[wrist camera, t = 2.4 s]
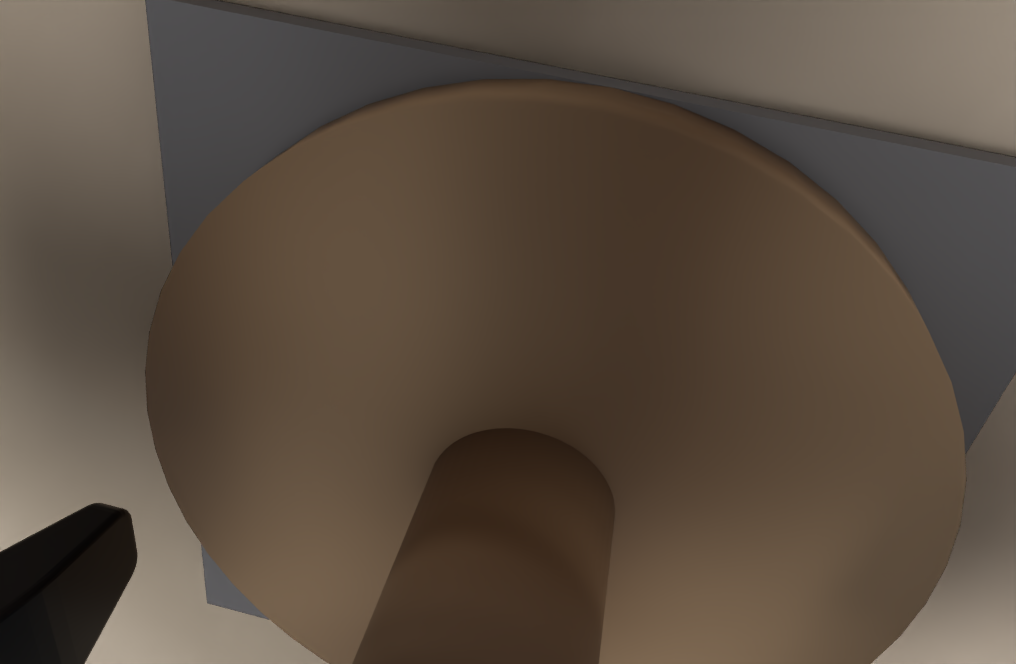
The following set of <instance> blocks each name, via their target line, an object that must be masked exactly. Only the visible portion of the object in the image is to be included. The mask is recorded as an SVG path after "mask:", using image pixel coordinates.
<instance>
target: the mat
mask: <svg viewBox="0 0 1016 664" xmlns="http://www.w3.org/2000/svg"><path fill="white" fill-rule="evenodd" d="M145 2H146V12H147V21H148V31H149V41H150V51H151V60H152V70H153V80H154V89H155V99H156V109H157V119H158V128H159V138H160V148H161V158H162V167H163V177H164V187H165V197H166V206H167V216H168V226H169V235H170V245H171V255H172V265H173V266H174V264H175V262H176V260H177V257H178V255H179V253H180V252H181V250H182V249H183V248H184V246H185V245H186V244H187V242H188V241H189V240H190V238H191V237H192V236H193V234H194V233H195V231H196V230H197V229H198V227H199V226H200V225H201V223H202V222H203V221H204V219H205V218H206V216H207V215H208V214H209V213H210V212H211V211H213V210H214V209H215V208H216V207H217V206H218V205H219V204H220V203H221V202H222V201H223V200H224V199H225V198H226V197H227V196H228V195H229V194H230V193H231V192H232V191H234V190H235V189H236V188H237V187H238V186H239V185H240V184H241V183H242V182H243V181H244V180H246V179H247V178H248V177H250V176H251V175H252V174H254V173H255V172H256V171H258V170H259V169H260V168H262V167H263V166H264V165H266V164H267V163H268V162H270V161H271V160H272V159H274V158H275V157H276V156H278V155H279V154H281V153H282V152H284V151H285V150H286V149H288V148H289V147H291V146H292V145H294V144H295V143H297V142H298V141H300V140H301V139H303V138H304V137H306V136H307V135H309V134H310V133H312V132H313V131H315V130H316V129H318V128H319V127H321V126H323V125H325V124H327V123H329V122H331V121H333V120H336V119H338V118H340V117H342V116H344V115H346V114H348V113H351V112H353V111H355V110H357V109H359V108H361V107H363V106H366V105H368V104H370V103H374V102H377V101H380V100H384V99H387V98H391V97H394V96H398V95H401V94H404V93H408V92H411V91H415V90H418V89H421V88H425V87H432V86H439V85H446V84H453V83H460V82H467V81H474V80H481V79H552V80H560V81H567V82H575V83H582V84H590V85H598V86H605V87H612V88H616V89H619V90H623V91H627V92H630V93H634V94H638V95H642V96H645V97H649V98H653V99H656V100H660V101H664V102H668V103H671V104H675V105H677V106H680V107H682V108H684V109H687V110H689V111H691V112H694V113H696V114H699V115H701V116H703V117H706V118H708V119H710V120H713V121H715V122H718V123H720V124H722V125H725V126H727V127H730V128H732V129H734V130H736V131H738V132H739V133H741V134H743V135H745V136H746V137H748V138H750V139H751V140H753V141H755V142H756V143H758V144H760V145H761V146H763V147H765V148H766V149H768V150H770V151H772V152H773V153H775V154H777V155H778V156H780V157H782V158H783V159H785V160H787V161H788V162H790V163H791V164H792V165H794V166H795V167H796V168H797V169H799V170H800V171H801V172H802V173H804V174H805V175H806V176H807V177H809V178H810V179H811V180H812V181H814V182H815V183H816V184H817V185H819V186H820V187H821V188H822V189H824V190H825V191H826V192H827V193H829V194H830V195H831V196H832V197H834V198H835V199H836V200H837V201H838V202H839V203H840V204H841V205H842V206H843V207H844V208H845V209H846V210H847V211H848V213H849V214H850V215H851V216H852V217H853V218H854V219H855V220H856V221H857V222H858V223H859V224H860V226H861V227H862V228H863V229H864V230H865V231H866V232H867V233H868V234H869V235H870V236H871V237H872V239H873V240H874V241H875V242H876V243H877V244H878V246H879V247H880V249H881V250H882V252H883V253H884V255H885V256H886V258H887V259H888V261H889V262H890V264H891V265H892V267H893V268H894V270H895V271H896V273H897V274H898V276H899V277H900V279H901V280H902V282H903V283H904V285H905V286H906V288H907V289H908V291H909V293H910V295H911V297H912V299H913V301H914V303H915V305H916V307H917V309H918V311H919V313H920V315H921V317H922V319H923V321H924V323H925V325H926V327H927V329H928V331H929V333H930V335H931V337H932V340H933V342H934V344H935V346H936V349H937V351H938V353H939V355H940V358H941V360H942V362H943V364H944V366H945V369H946V371H947V373H948V375H949V378H950V380H951V382H952V386H953V390H954V394H955V398H956V402H957V406H958V410H959V414H960V418H961V422H962V427H963V431H964V443H965V454H966V453H967V451H968V449H969V448H970V446H971V445H972V443H973V441H974V440H975V438H976V436H977V435H978V433H979V432H980V430H981V428H982V427H983V425H984V423H985V422H986V420H987V418H988V417H989V415H990V414H991V412H992V410H993V409H994V407H995V405H996V404H997V402H998V400H999V399H1000V397H1001V396H1002V394H1003V392H1004V391H1005V389H1006V387H1007V386H1008V384H1009V383H1010V381H1011V379H1012V378H1013V376H1014V374H1015V373H1016V157H1012V156H1006V155H1001V154H996V153H991V152H986V151H981V150H976V149H971V148H966V147H961V146H956V145H950V144H945V143H940V142H935V141H930V140H925V139H920V138H915V137H910V136H905V135H900V134H894V133H889V132H884V131H879V130H874V129H869V128H864V127H859V126H854V125H849V124H844V123H838V122H833V121H828V120H823V119H818V118H813V117H808V116H803V115H798V114H793V113H788V112H783V111H777V110H772V109H767V108H762V107H757V106H752V105H747V104H742V103H737V102H732V101H727V100H721V99H716V98H711V97H706V96H701V95H696V94H691V93H686V92H681V91H676V90H671V89H665V88H660V87H655V86H650V85H645V84H640V83H635V82H630V81H625V80H620V79H615V78H609V77H604V76H599V75H594V74H589V73H584V72H579V71H574V70H569V69H564V68H559V67H553V66H548V65H543V64H538V63H533V62H528V61H523V60H518V59H513V58H508V57H503V56H497V55H492V54H487V53H482V52H477V51H472V50H467V49H462V48H457V47H452V46H447V45H442V44H436V43H431V42H426V41H421V40H416V39H411V38H406V37H401V36H396V35H391V34H386V33H380V32H375V31H370V30H365V29H360V28H355V27H350V26H345V25H340V24H335V23H330V22H324V21H319V20H314V19H309V18H304V17H299V16H294V15H289V14H284V13H279V12H274V11H268V10H263V9H258V8H253V7H248V6H243V5H238V4H233V3H228V2H223V1H218V0H145ZM201 547H202V557H203V566H204V576H205V586H206V596H207V603H208V604H212V605H216V606H220V607H224V608H227V609H231V610H235V611H239V612H242V613H246V614H250V615H254V616H258V617H261V618H265V619H269V618H267V617H266V616H265V615H264V614H263V613H261V612H260V611H259V610H258V609H257V608H256V607H255V606H254V605H253V604H252V603H251V602H250V601H249V600H248V599H247V598H246V597H245V596H244V595H243V594H242V593H241V592H240V591H239V590H238V589H237V588H236V587H235V586H234V585H233V584H232V582H231V581H230V580H229V579H228V577H227V576H226V575H225V574H224V573H223V571H222V570H221V569H220V568H219V566H218V565H217V564H216V563H215V562H214V560H213V559H212V558H211V557H210V556H209V554H208V553H207V551H206V550H205V548H204V547H203V545H202V544H201ZM269 620H270V619H269Z"/></svg>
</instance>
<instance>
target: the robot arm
mask: <svg viewBox="0 0 1016 664" xmlns="http://www.w3.org/2000/svg"><path fill="white" fill-rule="evenodd" d="M136 563H137V548H136V542H135V536H134V530H133V524H132V518H131V515H130V513H129V512H128V511H127V510H125V509H123V508H119V507H115V506H111V505H107V504H103V503H94V504H91V505H88V506H86V507H84V508H82V509H80V510H78V511H76V512H75V513H73V514H71V515H69V516H67V517H65V518H63V519H61V520H59V521H58V522H56V523H54V524H52V525H50V526H48V527H46V528H44V529H42V530H41V531H39V532H37V533H35V534H33V535H31V536H29V537H27V538H25V539H24V540H22V541H20V542H18V543H16V544H14V545H12V546H10V547H8V548H7V549H5V550H3V551H1V552H0V664H85V662H86V660H87V658H88V656H89V654H90V653H91V651H92V649H93V647H94V645H95V643H96V641H97V640H98V638H99V636H100V634H101V632H102V630H103V628H104V627H105V625H106V623H107V621H108V619H109V617H110V615H111V614H112V612H113V610H114V608H115V606H116V604H117V602H118V601H119V599H120V597H121V595H122V593H123V591H124V589H125V588H126V586H127V584H128V582H129V580H130V578H131V576H132V574H133V572H134V570H135V567H136Z"/></svg>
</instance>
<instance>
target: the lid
mask: <svg viewBox="0 0 1016 664" xmlns="http://www.w3.org/2000/svg"><path fill="white" fill-rule="evenodd" d="M145 377H146V395H147V411H148V416H149V421H150V426H151V430H152V435H153V440H154V445H155V449H156V452H157V455H158V458H159V461H160V463H161V466H162V469H163V472H164V475H165V477H166V480H167V483H168V486H169V488H170V490H171V492H172V494H173V496H174V498H175V500H176V502H177V504H178V506H179V507H180V509H181V511H182V513H183V515H184V517H185V519H186V521H187V523H188V524H189V526H190V527H191V529H192V530H193V532H194V533H195V535H196V536H197V538H198V539H199V541H200V542H201V544H202V545H203V547H204V548H205V550H206V551H207V553H208V554H209V556H210V557H211V558H212V559H213V560H214V562H215V563H216V564H217V565H218V566H219V568H220V569H221V570H222V571H223V573H224V574H225V575H226V576H227V577H228V579H229V580H230V581H231V582H232V584H233V585H234V586H235V587H236V588H237V589H238V590H239V591H240V592H241V593H242V594H243V595H244V596H245V597H246V598H247V599H248V600H249V601H250V602H251V603H252V604H253V605H254V606H255V607H256V608H257V609H258V610H259V611H260V612H261V613H263V614H264V615H265V616H266V617H267V618H269V619H270V620H271V621H272V622H273V623H275V624H276V625H277V626H278V627H279V628H281V629H282V630H283V631H284V632H285V633H287V634H288V635H289V636H290V637H291V638H293V639H294V640H296V641H297V642H298V643H300V644H301V645H303V646H304V647H306V648H307V649H308V650H310V651H311V652H313V653H314V654H316V655H317V656H318V657H320V658H321V659H323V660H324V661H326V662H327V663H329V664H871V663H872V662H873V661H874V660H875V659H876V658H877V657H878V656H879V655H880V654H881V653H883V652H884V651H885V650H886V649H887V648H888V647H889V646H890V645H891V644H892V643H893V642H894V641H895V640H897V639H898V638H899V637H900V636H901V634H902V633H903V632H904V631H905V629H906V628H907V627H908V625H909V624H910V623H911V622H912V620H913V619H914V618H915V617H916V615H917V614H918V613H919V612H920V610H921V609H922V608H923V607H924V605H925V604H926V602H927V601H928V599H929V597H930V595H931V593H932V592H933V590H934V588H935V586H936V584H937V582H938V581H939V579H940V577H941V575H942V573H943V572H944V570H945V568H946V566H947V563H948V560H949V557H950V554H951V551H952V548H953V545H954V542H955V539H956V536H957V533H958V530H959V527H960V523H961V516H962V509H963V502H964V494H965V487H966V462H965V443H964V431H963V427H962V422H961V418H960V414H959V410H958V406H957V402H956V398H955V394H954V390H953V386H952V382H951V380H950V378H949V375H948V373H947V371H946V369H945V366H944V364H943V362H942V360H941V358H940V355H939V353H938V351H937V349H936V346H935V344H934V342H933V340H932V337H931V335H930V333H929V331H928V329H927V327H926V325H925V323H924V321H923V319H922V317H921V315H920V313H919V311H918V309H917V307H916V305H915V303H914V301H913V299H912V297H911V295H910V293H909V291H908V289H907V288H906V286H905V285H904V283H903V282H902V280H901V279H900V277H899V276H898V274H897V273H896V271H895V270H894V268H893V267H892V265H891V264H890V262H889V261H888V259H887V258H886V256H885V255H884V253H883V252H882V250H881V249H880V247H879V246H878V244H877V243H876V242H875V241H874V240H873V239H872V237H871V236H870V235H869V234H868V233H867V232H866V231H865V230H864V229H863V228H862V227H861V226H860V224H859V223H858V222H857V221H856V220H855V219H854V218H853V217H852V216H851V215H850V214H849V213H848V211H847V210H846V209H845V208H844V207H843V206H842V205H841V204H840V203H839V202H838V201H837V200H836V199H835V198H834V197H832V196H831V195H830V194H829V193H827V192H826V191H825V190H824V189H822V188H821V187H820V186H819V185H817V184H816V183H815V182H814V181H812V180H811V179H810V178H809V177H807V176H806V175H805V174H804V173H802V172H801V171H800V170H799V169H797V168H796V167H795V166H794V165H792V164H791V163H790V162H788V161H787V160H785V159H783V158H782V157H780V156H778V155H777V154H775V153H773V152H772V151H770V150H768V149H766V148H765V147H763V146H761V145H760V144H758V143H756V142H755V141H753V140H751V139H750V138H748V137H746V136H745V135H743V134H741V133H739V132H738V131H736V130H734V129H732V128H730V127H727V126H725V125H722V124H720V123H718V122H715V121H713V120H710V119H708V118H706V117H703V116H701V115H699V114H696V113H694V112H691V111H689V110H687V109H684V108H682V107H680V106H677V105H675V104H671V103H668V102H664V101H660V100H656V99H653V98H649V97H645V96H642V95H638V94H634V93H630V92H627V91H623V90H619V89H616V88H612V87H605V86H598V85H590V84H582V83H575V82H567V81H560V80H552V79H481V80H474V81H467V82H460V83H453V84H446V85H439V86H432V87H425V88H421V89H418V90H415V91H411V92H408V93H404V94H401V95H398V96H394V97H391V98H387V99H384V100H380V101H377V102H374V103H370V104H368V105H366V106H363V107H361V108H359V109H357V110H355V111H353V112H351V113H348V114H346V115H344V116H342V117H340V118H338V119H336V120H333V121H331V122H329V123H327V124H325V125H323V126H321V127H319V128H318V129H316V130H315V131H313V132H312V133H310V134H309V135H307V136H306V137H304V138H303V139H301V140H300V141H298V142H297V143H295V144H294V145H292V146H291V147H289V148H288V149H286V150H285V151H284V152H282V153H281V154H279V155H278V156H276V157H275V158H274V159H272V160H271V161H270V162H268V163H267V164H266V165H264V166H263V167H262V168H260V169H259V170H258V171H256V172H255V173H254V174H252V175H251V176H250V177H248V178H247V179H246V180H244V181H243V182H242V183H241V184H240V185H239V186H238V187H237V188H236V189H235V190H234V191H232V192H231V193H230V194H229V195H228V196H227V197H226V198H225V199H224V200H223V201H222V202H221V203H220V204H219V205H218V206H217V207H216V208H215V209H214V210H213V211H211V212H210V213H209V214H208V215H207V216H206V218H205V219H204V221H203V222H202V223H201V225H200V226H199V227H198V229H197V230H196V231H195V233H194V234H193V236H192V237H191V238H190V240H189V241H188V242H187V244H186V245H185V246H184V248H183V249H182V250H181V252H180V253H179V255H178V257H177V260H176V262H175V264H174V266H173V268H172V270H171V272H170V274H169V276H168V278H167V280H166V282H165V284H164V286H163V288H162V290H161V293H160V296H159V300H158V303H157V307H156V310H155V314H154V317H153V321H152V324H151V328H150V331H149V340H148V350H147V359H146V369H145Z"/></svg>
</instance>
